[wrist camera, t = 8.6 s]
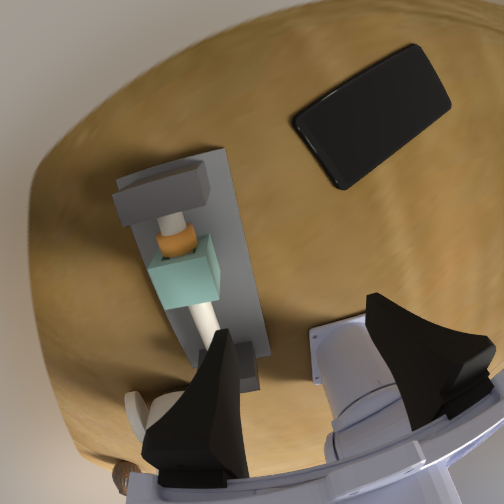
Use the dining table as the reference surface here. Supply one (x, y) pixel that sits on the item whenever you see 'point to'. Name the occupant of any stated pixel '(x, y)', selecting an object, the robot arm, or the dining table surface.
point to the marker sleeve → (187, 276)
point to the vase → (123, 475)
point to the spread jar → (143, 417)
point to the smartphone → (372, 115)
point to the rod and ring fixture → (183, 243)
